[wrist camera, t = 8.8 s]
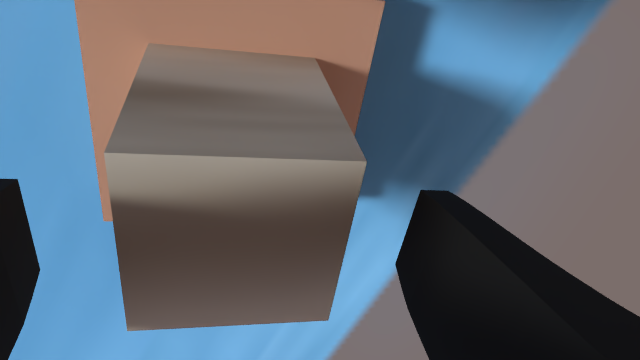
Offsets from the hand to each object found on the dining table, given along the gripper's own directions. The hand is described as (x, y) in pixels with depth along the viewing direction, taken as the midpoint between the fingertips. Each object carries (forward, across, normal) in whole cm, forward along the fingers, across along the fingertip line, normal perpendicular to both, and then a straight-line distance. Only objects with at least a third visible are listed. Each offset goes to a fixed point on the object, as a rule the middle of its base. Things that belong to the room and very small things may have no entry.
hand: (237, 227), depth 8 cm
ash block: (+4, 0, 0) cm, 4 cm away
